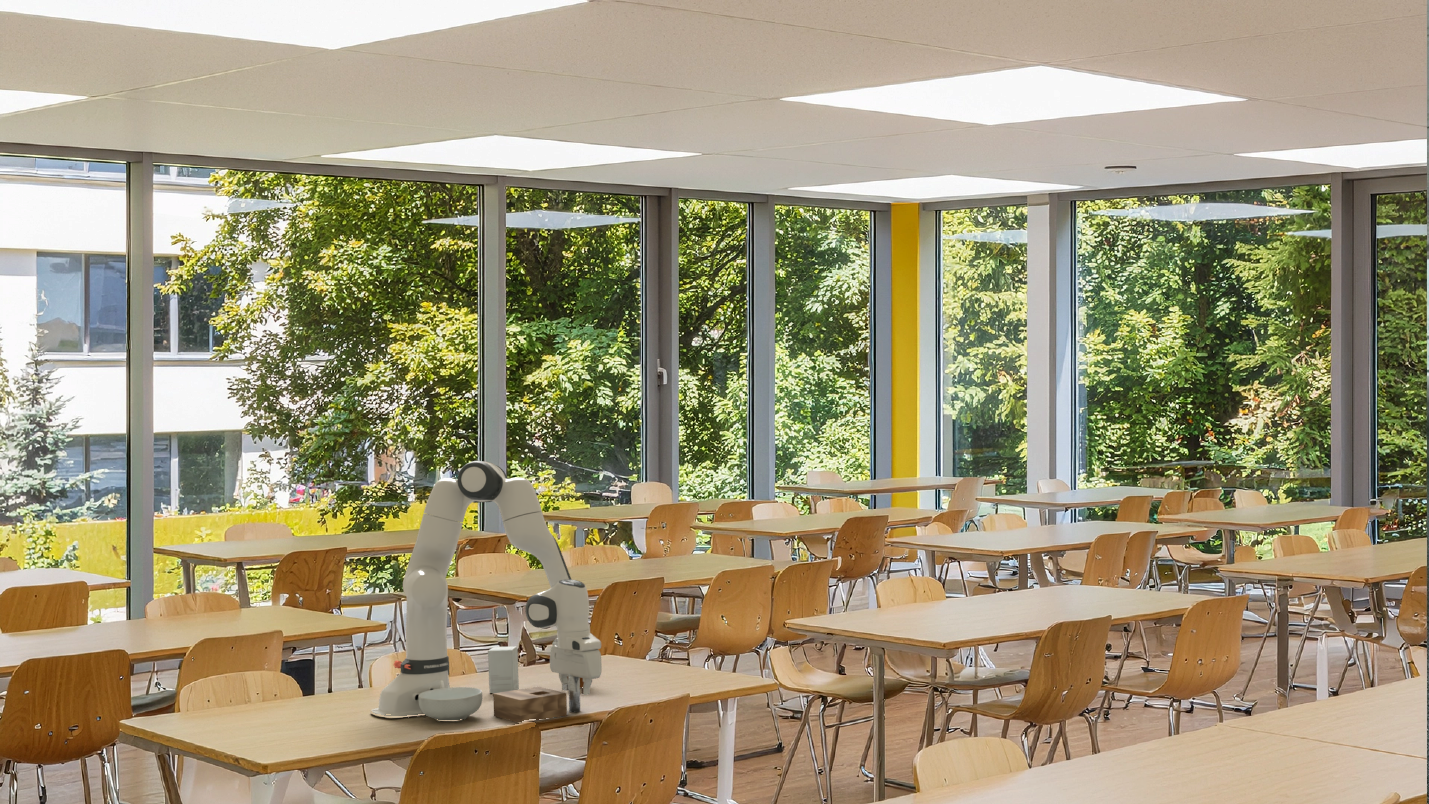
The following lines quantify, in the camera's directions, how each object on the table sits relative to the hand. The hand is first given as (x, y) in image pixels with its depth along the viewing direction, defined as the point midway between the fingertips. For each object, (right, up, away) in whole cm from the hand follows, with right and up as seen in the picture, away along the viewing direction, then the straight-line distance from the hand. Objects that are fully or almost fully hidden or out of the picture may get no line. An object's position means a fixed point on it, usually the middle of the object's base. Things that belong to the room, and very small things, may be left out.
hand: (575, 692), depth 398 cm
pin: (0, -5, 0) cm, 5 cm away
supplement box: (-24, -7, +33) cm, 41 cm away
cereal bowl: (-32, -6, -7) cm, 34 cm away
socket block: (-12, -5, -6) cm, 14 cm away
